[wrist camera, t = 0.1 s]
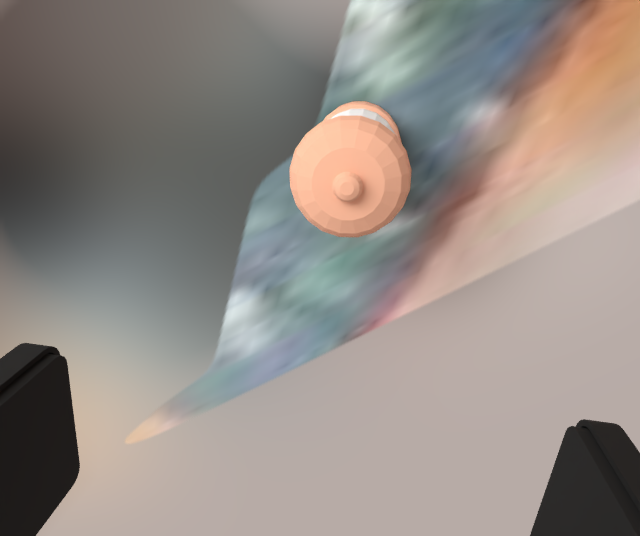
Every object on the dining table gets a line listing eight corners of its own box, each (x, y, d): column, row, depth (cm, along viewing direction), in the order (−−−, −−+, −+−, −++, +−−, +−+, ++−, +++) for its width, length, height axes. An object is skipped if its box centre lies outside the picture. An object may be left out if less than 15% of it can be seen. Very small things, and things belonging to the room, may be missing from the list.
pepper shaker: (407, 108, 42) (431, 129, 24) (390, 190, 44) (400, 264, 27) (324, 94, 42) (287, 105, 24) (312, 177, 45) (271, 241, 27)
